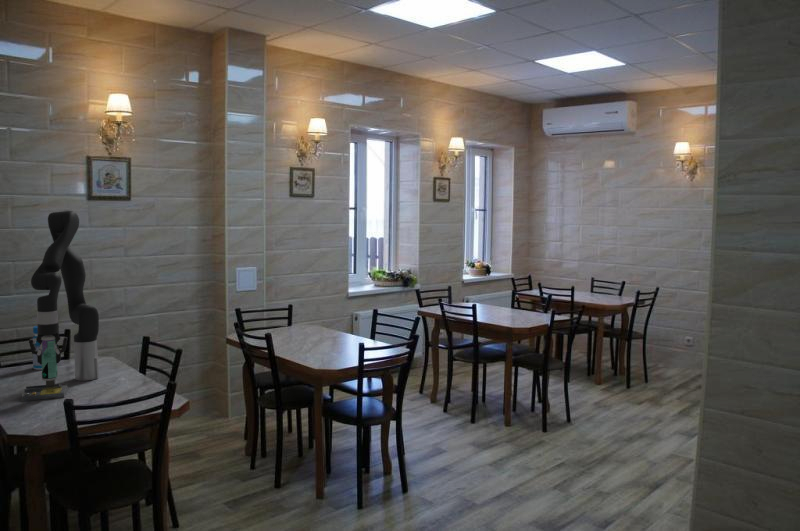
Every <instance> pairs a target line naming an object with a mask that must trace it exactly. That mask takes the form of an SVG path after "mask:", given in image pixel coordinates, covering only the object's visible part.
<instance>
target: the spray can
mask: <svg viewBox="0 0 800 531" xmlns="http://www.w3.org/2000/svg"><path fill="white" fill-rule="evenodd" d="M53 341H54V342H55V336H53V335H44V336H43V337H41V343H42V352H41V358H42V370H41V380H42V381H45V382H46V381H50V380H55V381H56V380H58V363H56V354H57V353H56V350H55V349H54V347H55V346H54V342H53ZM55 344H56V343H55ZM57 344H58V343H57ZM57 344H56V346H57Z"/></svg>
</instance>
